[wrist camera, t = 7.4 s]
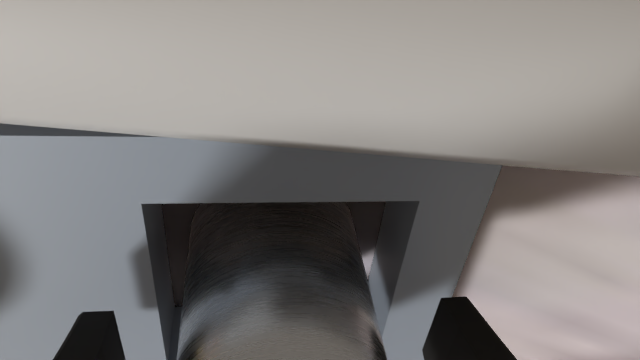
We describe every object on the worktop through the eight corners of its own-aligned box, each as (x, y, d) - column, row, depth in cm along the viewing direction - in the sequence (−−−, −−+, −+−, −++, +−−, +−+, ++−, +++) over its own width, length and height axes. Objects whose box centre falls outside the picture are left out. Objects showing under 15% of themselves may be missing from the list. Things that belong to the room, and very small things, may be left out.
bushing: (349, 280, 16) (407, 551, 10) (202, 294, 15) (182, 584, 10) (356, 164, 13) (440, 450, 8) (177, 176, 13) (130, 490, 7)
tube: (1301, -43, 8) (-1614, -899, 2) (1091, 265, 10) (-924, 163, 4) (886, -30, 13) (-393, -305, 7) (794, 172, 15) (-303, 70, 9)
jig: (403, 327, 18) (419, 382, 16) (-243, 358, 15) (-299, 428, 13) (477, 91, 12) (512, 140, 10) (-536, 68, 9) (-694, 129, 8)
